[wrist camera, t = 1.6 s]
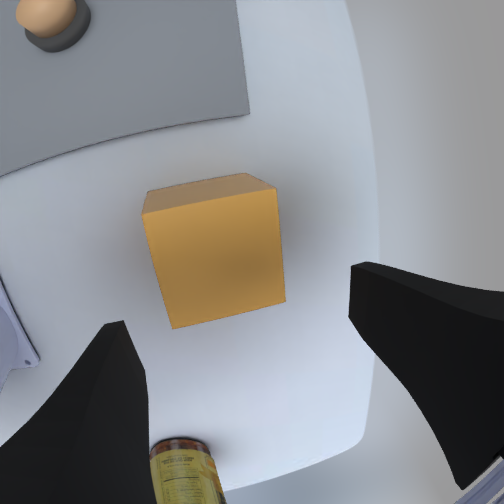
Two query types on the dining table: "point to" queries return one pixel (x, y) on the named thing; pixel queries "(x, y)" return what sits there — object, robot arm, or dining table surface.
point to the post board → (112, 71)
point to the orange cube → (215, 247)
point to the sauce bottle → (184, 473)
